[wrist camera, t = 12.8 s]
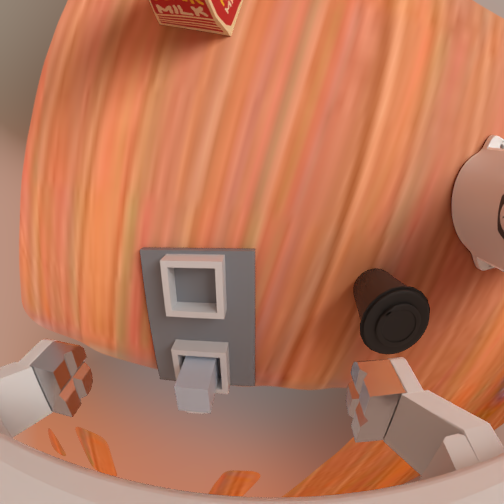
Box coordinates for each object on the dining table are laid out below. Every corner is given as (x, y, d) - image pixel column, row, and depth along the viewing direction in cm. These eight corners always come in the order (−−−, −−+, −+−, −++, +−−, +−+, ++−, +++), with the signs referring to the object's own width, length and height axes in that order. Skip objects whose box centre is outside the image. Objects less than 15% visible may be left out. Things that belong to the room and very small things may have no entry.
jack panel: (255, 248, 38) (253, 258, 34) (254, 381, 44) (253, 397, 40) (142, 247, 39) (132, 256, 35) (162, 374, 45) (155, 389, 41)
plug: (217, 351, 41) (207, 389, 34) (219, 378, 43) (211, 417, 35) (188, 349, 41) (173, 386, 34) (192, 376, 43) (179, 414, 35)
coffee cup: (356, 249, 37) (383, 281, 28) (411, 267, 37) (446, 300, 28) (333, 308, 40) (349, 353, 30) (386, 321, 40) (412, 364, 30)
